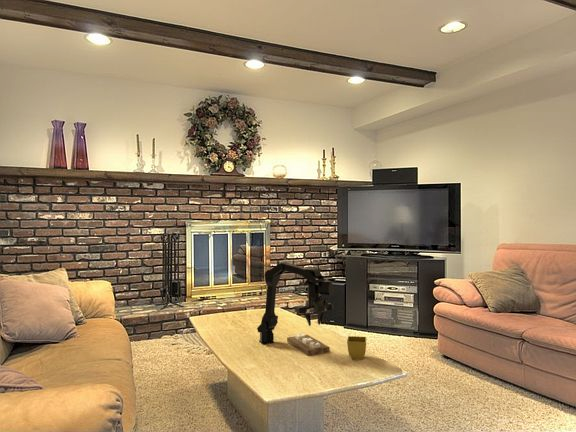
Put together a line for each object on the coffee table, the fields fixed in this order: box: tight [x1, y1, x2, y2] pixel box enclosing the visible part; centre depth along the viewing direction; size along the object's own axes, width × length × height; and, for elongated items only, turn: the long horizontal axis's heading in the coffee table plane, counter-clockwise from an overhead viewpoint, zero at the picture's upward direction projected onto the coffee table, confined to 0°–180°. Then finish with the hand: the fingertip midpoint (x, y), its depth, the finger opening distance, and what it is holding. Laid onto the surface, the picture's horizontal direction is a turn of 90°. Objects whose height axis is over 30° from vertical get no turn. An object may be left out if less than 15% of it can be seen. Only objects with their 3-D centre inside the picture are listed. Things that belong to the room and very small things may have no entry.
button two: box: [302, 338, 313, 344], centre depth 214 cm, size 4×4×3 cm
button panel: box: [286, 334, 330, 357], centre depth 214 cm, size 12×25×2 cm, turn 24°
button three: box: [310, 342, 320, 348], centre depth 207 cm, size 4×4×3 cm
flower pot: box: [346, 335, 367, 361], centre depth 195 cm, size 9×9×9 cm
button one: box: [294, 333, 306, 340], centre depth 222 cm, size 4×4×3 cm
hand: (314, 325), depth 207 cm, fingers open, 5 cm apart
